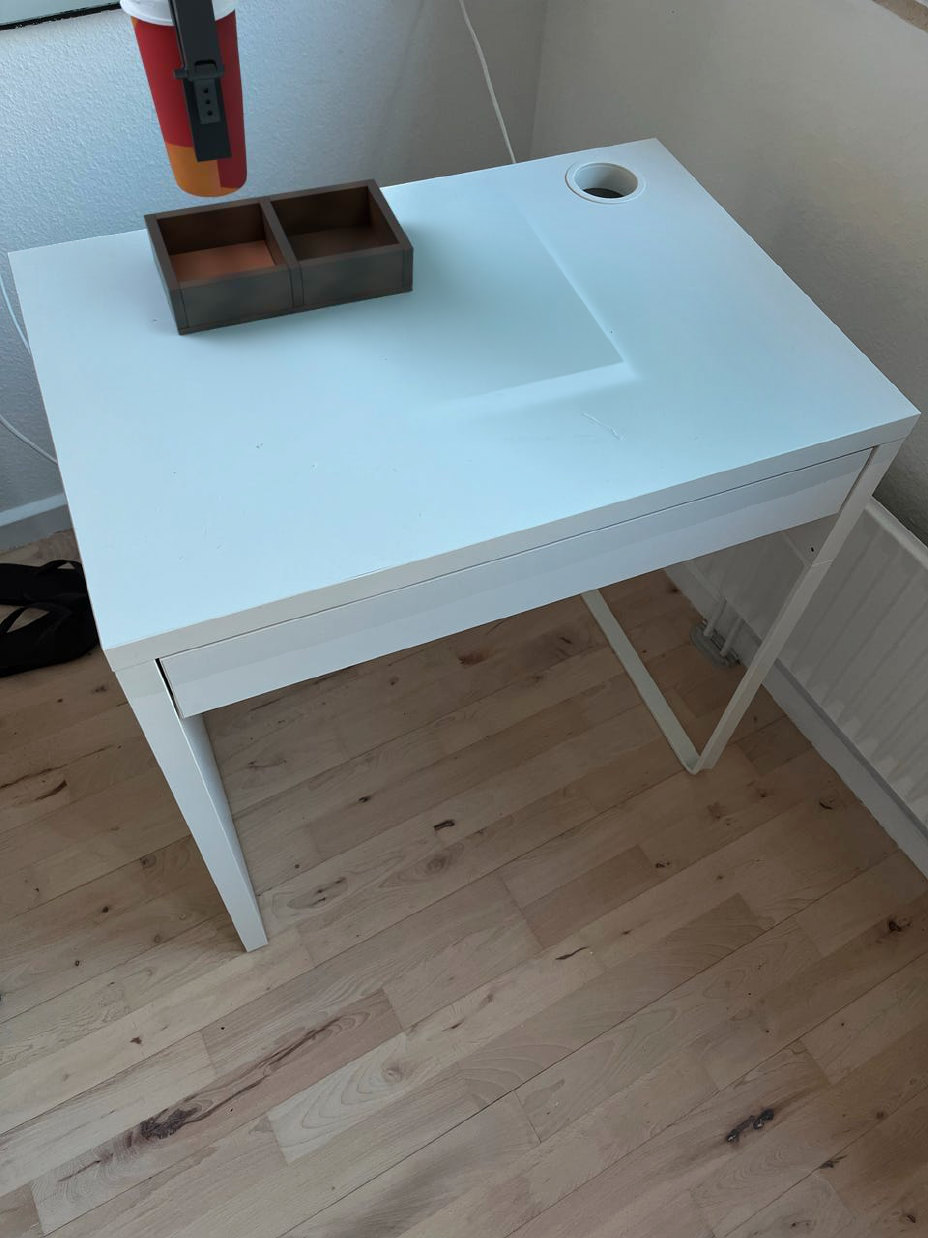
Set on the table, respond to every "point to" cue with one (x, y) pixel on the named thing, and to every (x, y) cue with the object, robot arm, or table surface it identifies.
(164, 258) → the cup holder
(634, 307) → the table surface
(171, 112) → the coffee cup
